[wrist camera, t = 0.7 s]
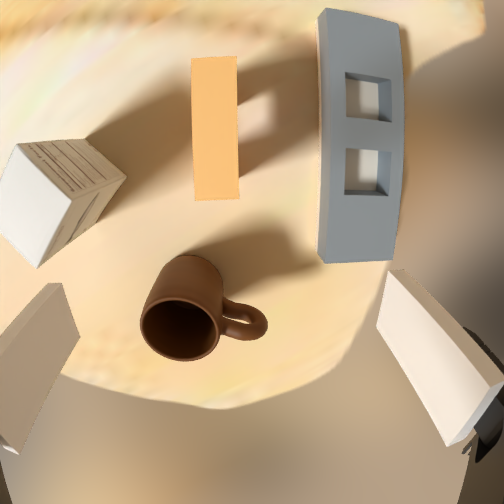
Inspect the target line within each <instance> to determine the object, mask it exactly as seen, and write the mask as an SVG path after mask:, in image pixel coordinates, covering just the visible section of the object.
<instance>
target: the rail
mask: <svg viewBox="0 0 504 504" xmlns="http://www.w3.org/2000/svg"><path fill="white" fill-rule="evenodd" d="M315 26H316V42H317V64H318V98H319V161H318V197H317V220H316V239H315V250H316V252H317V253H318V255H319V256H320V257H321V259H322V260H323V262H324V263H325V264H328V263H348V262H367V261H385V260H393V254H394V248H395V241H396V234H397V227H398V219H399V210H400V200H401V189H402V176H403V159H404V81H403V65H402V53H401V43H400V34H399V26H398V24H397V23H394V22H390V21H387V20H383V19H379V18H375V17H371V16H367V15H362V14H358V13H353V12H348V11H343V10H337V9H331V8H325V9H324V10H323V12H322V13H321V14H320V16H319V17H318V18H317V19H316V21H315Z"/></svg>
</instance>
